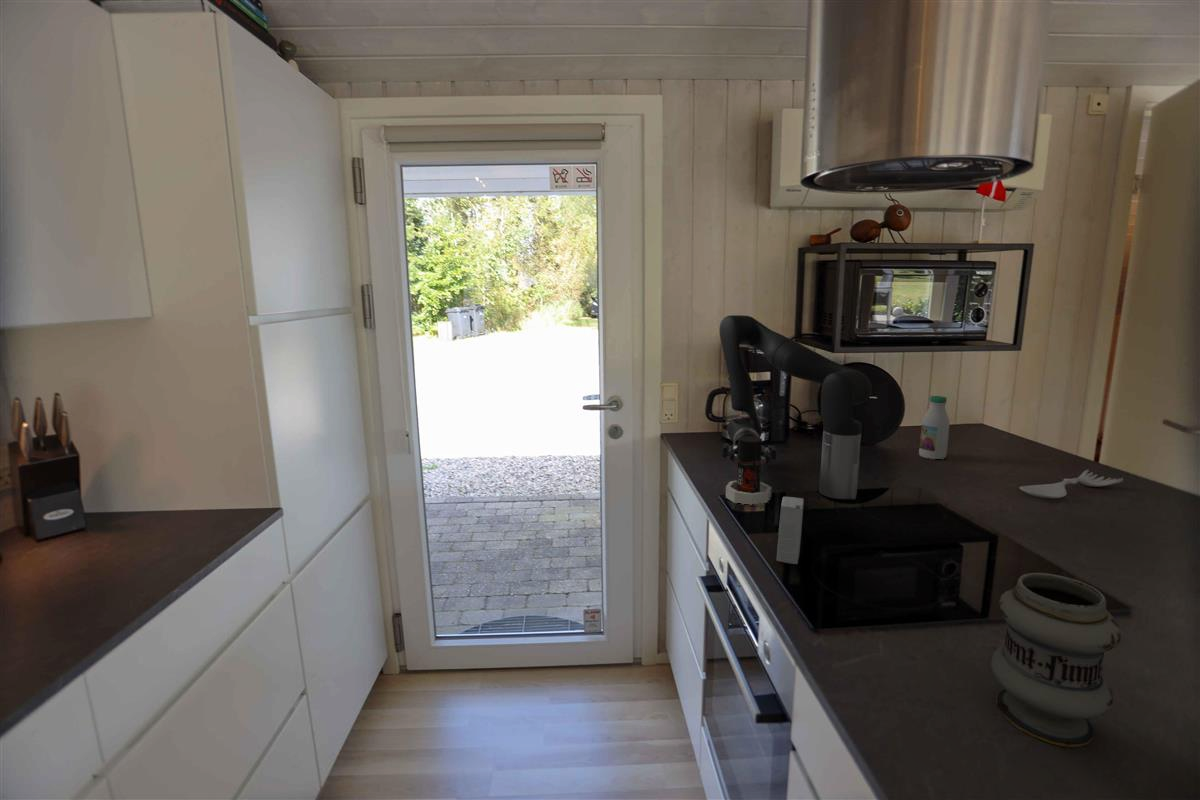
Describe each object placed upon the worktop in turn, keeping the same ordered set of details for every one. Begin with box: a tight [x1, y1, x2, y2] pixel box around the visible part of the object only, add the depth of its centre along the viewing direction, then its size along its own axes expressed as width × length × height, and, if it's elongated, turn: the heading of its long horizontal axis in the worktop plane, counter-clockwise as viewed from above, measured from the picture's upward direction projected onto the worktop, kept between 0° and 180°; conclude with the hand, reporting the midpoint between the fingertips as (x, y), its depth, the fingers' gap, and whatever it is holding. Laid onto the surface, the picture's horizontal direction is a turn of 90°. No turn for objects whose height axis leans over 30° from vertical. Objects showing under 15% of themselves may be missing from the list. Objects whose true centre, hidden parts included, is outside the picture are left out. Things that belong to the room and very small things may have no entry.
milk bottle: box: [918, 395, 950, 460], centre depth 183 cm, size 8×8×20 cm
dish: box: [725, 480, 772, 506], centre depth 150 cm, size 11×11×3 cm
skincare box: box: [775, 496, 805, 565], centre depth 115 cm, size 6×4×12 cm
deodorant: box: [736, 436, 763, 493], centre depth 149 cm, size 6×6×15 cm
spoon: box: [1019, 469, 1124, 500], centre depth 153 cm, size 9×32×4 cm, turn 111°
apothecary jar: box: [990, 572, 1122, 748], centre depth 71 cm, size 12×12×18 cm
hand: (750, 458), depth 147 cm, fingers open, 8 cm apart
